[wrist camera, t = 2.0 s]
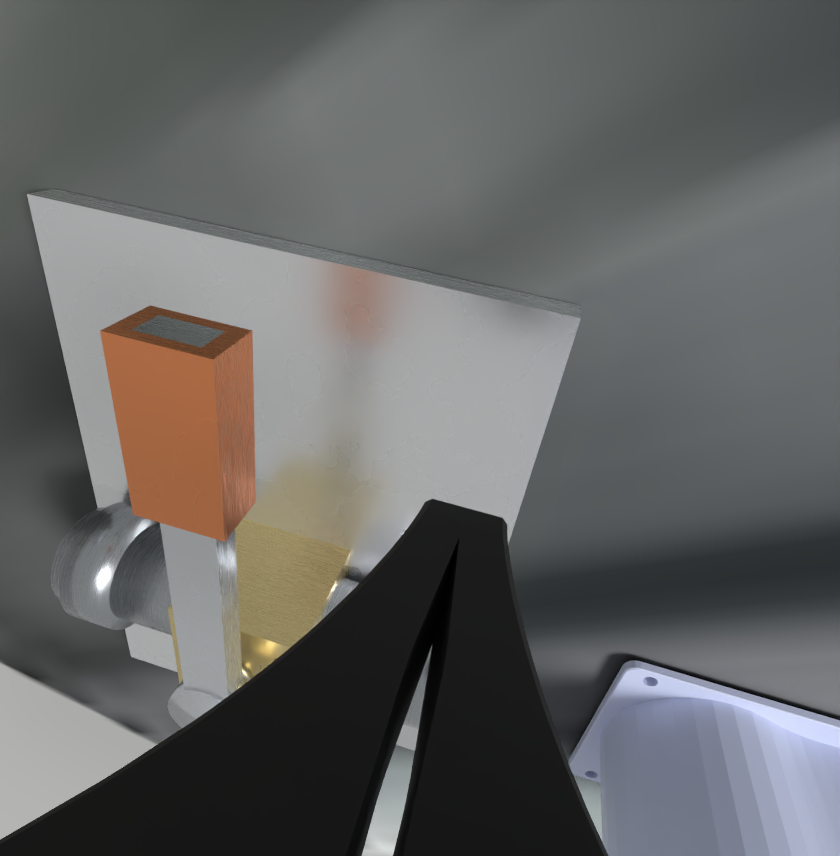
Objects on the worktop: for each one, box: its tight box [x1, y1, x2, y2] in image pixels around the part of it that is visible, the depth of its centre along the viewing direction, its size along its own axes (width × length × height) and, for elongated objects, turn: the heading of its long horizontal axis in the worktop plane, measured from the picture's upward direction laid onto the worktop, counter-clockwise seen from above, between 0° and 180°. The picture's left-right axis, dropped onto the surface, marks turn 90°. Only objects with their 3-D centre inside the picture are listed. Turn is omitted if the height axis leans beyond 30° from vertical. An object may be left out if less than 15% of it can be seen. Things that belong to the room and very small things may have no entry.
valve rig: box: [27, 189, 581, 751], centre depth 19 cm, size 16×22×6 cm
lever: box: [100, 306, 256, 728], centre depth 14 cm, size 14×3×1 cm, turn 171°
